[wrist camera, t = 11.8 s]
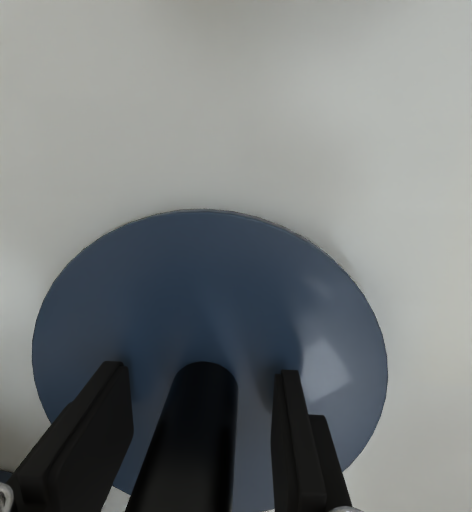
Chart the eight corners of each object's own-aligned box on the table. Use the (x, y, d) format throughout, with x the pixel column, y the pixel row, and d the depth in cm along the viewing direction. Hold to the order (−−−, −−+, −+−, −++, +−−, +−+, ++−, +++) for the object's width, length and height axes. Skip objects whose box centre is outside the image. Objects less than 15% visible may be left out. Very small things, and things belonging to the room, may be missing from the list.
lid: (26, 201, 10) (-332, 253, 4) (401, 211, 10) (677, 289, 4) (74, 478, 14) (-76, 739, 8) (352, 496, 14) (443, 793, 7)
